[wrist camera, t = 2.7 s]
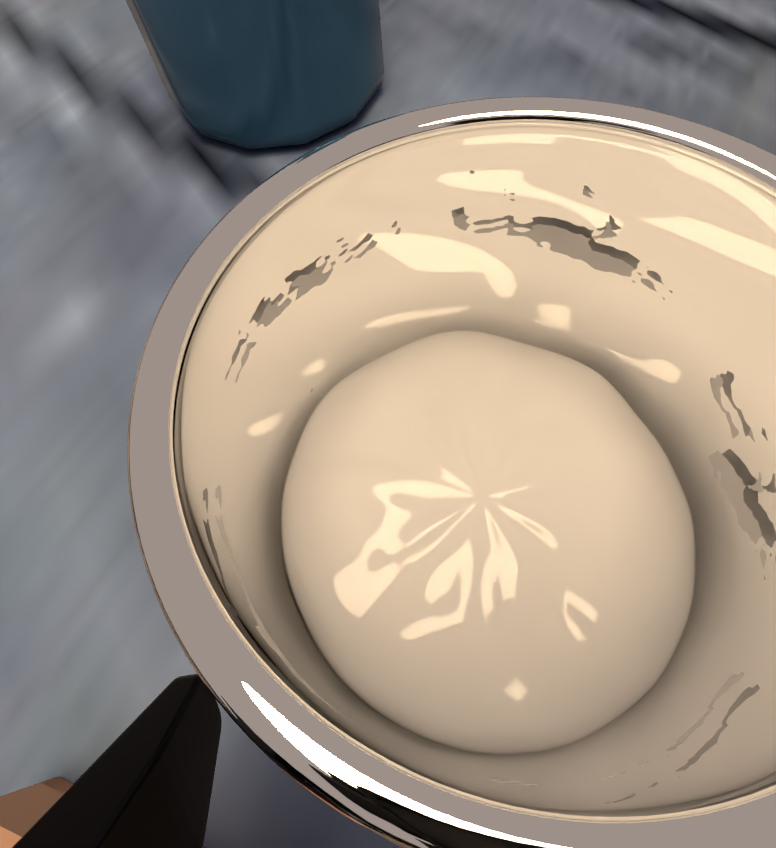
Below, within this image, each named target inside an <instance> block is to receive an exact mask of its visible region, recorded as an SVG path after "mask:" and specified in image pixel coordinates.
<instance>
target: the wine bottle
mask: <svg viewBox="0 0 776 848" xmlns="http://www.w3.org/2000/svg"><path fill="white" fill-rule="evenodd" d="M126 2H127V4H128V6H129V9H130V11H131V13H132V15H133V17H134V20H135V22H136V24H137V26H138V28H139V30H140V33H141V35H142V37H143V39H144V41H145V44H146V46H147V48H148V50H149V52H150V55H151V57H152V59H153V61H154V63H155V66H156V68H157V70H158V72H159V74H160V76H161V79H162V81H163V83H164V85H165V87H166V90H167V92H168V94H169V96H170V97H171V99H172V100H173V101H174V102H175V104H176V105H177V106H178V107H179V109H180V110H181V111H182V112H183V114H184V115H185V116H186V117H187V119H188V120H189V121H190V122H191V124H192V125H193V126H194V127H195V128H196V129H197V130H198V131H199V132H200V133H201V134H202V135H203V136H205V137H208V138H212V139H215V140H219V141H222V142H225V143H229V144H232V145H236V146H239V147H243V148H246V149H259V148H268V147H278V146H287V145H296V144H306V143H308V142H310V141H312V140H314V139H316V138H318V137H320V136H322V135H324V134H326V133H328V132H330V131H332V130H335V129H337V128H339V127H341V126H343V125H345V124H347V123H349V122H351V121H353V120H354V119H355V118H356V116H357V115H358V114H359V113H360V111H361V110H362V109H363V107H364V106H365V105H366V104H367V102H368V101H369V100H370V98H371V97H372V96H373V95H374V93H375V92H376V91H377V89H378V88H379V85H380V82H381V79H382V76H383V73H384V69H383V55H382V40H381V26H380V11H379V0H126Z"/></svg>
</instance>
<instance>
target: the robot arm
mask: <svg viewBox="0 0 776 848" xmlns="http://www.w3.org/2000/svg"><path fill="white" fill-rule="evenodd" d="M220 733H221V714H220V710H219V707H218V704H217V701H216V699H215V697H214V696H213V695H212V693H211V692H210V690H209V689H208V688H207V686H206V685H205V684H204V682H203V681H202V680H201V678H200V677H199V675H198V674H194V675H187V676H181V677H178V678H176V679H175V680H174V681H172V682H171V683H170V684H169V685H168V686H167V687H166V689H165V690H164V691H163V692H162V693H161V694H160V695H159V696H158V697H157V698H156V699H155V700H154V701H153V702H152V703H151V704H150V705H149V706H148V707H147V708H146V709H145V710H144V711H143V712H142V713H141V714H140V715H139V716H138V717H137V719H136V720H135V721H134V722H133V723H132V724H131V725H130V726H129V727H128V728H127V729H126V730H125V731H124V732H123V733H122V734H121V735H120V736H119V737H118V738H117V739H116V740H115V741H114V742H113V743H112V744H111V745H110V746H109V748H108V749H107V750H106V751H105V752H104V753H103V754H102V755H101V756H100V757H99V758H98V759H97V760H96V761H95V762H94V763H93V764H92V765H91V766H90V767H89V768H88V769H87V770H86V771H85V772H84V773H83V774H82V775H81V777H80V778H79V779H78V780H77V781H76V782H75V783H74V784H73V785H72V786H71V787H70V788H69V789H68V790H67V791H66V792H65V793H64V794H63V795H62V796H61V797H60V798H59V799H58V800H57V801H56V802H55V803H54V804H53V806H52V807H51V808H50V809H49V810H48V811H47V812H46V813H45V814H44V815H43V816H42V817H41V818H40V819H39V820H38V821H37V822H36V823H35V824H34V825H33V826H32V827H31V828H30V829H29V830H28V831H27V832H26V833H25V835H24V836H23V837H22V838H21V839H20V840H19V841H18V842H17V843H16V844H15V845H14V846H13V847H12V848H202V847H203V842H204V836H205V830H206V824H207V818H208V811H209V805H210V798H211V792H212V785H213V778H214V772H215V765H216V759H217V752H218V746H219V739H220Z"/></svg>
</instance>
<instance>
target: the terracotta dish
mask: <svg viewBox="0 0 776 848" xmlns="http://www.w3.org/2000/svg"><path fill="white" fill-rule="evenodd" d="M72 785H73V783H70V782H68V781H66V780H64V779H62V778H60V777H56V778H53V779H50V780H47V781H44V782H41V783H38V784H35V785H32V786H29V787H26V788H24V789H21V790H18V791H15V792H12V793H9V794H6V795H3V796H0V848H12V847H13V846H14V845H15V844H16V843H17V842H18V841H19V840H20V839H21V838H22V837H23V836H24V835H25V833H26V832H27V831H28V830H29V829H30V828H31V827H32V826H33V825H34V824H35V823H36V822H37V821H38V820H39V819H40V818H41V817H42V816H43V815H44V814H45V813H46V812H47V811H48V810H49V809H50V808H51V807H52V806H53V804H54V803H55V802H56V801H57V800H58V799H59V798H60V797H61V796H62V795H63V794H64V793H65V792H66V791H67V790H68V789H69V788H70V787H71V786H72ZM202 848H204V847H202Z"/></svg>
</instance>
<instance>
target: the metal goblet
mask: <svg viewBox="0 0 776 848" xmlns="http://www.w3.org/2000/svg"><path fill="white" fill-rule="evenodd" d="M127 471H128V483H129V494H130V502H131V510H132V515H133V520H134V526H135V531H136V535H137V539H138V543H139V547H140V551H141V554H142V558H143V561H144V564H145V567H146V570H147V573H148V576H149V579H150V581H151V584H152V587H153V590H154V592H155V595H156V597H157V600H158V602H159V604H160V607H161V609H162V611H163V614H164V616H165V618H166V620H167V622H168V624H169V626H170V628H171V629H172V631H173V633H174V635H175V637H176V639H177V641H178V642H179V644H180V646H181V648H182V649H183V651H184V653H185V655H186V656H187V658H188V660H189V661H190V663H191V664H192V666H193V667H194V669H195V670H196V672H197V674H198V675H199V677H200V678H201V680H202V681H203V682H204V684H205V685H206V686H207V688H208V689H209V690H210V692H211V693H212V695H213V696H214V697H215V699H216V700H217V701H218V702H219V704H220V705H221V706H222V707H223V708H224V710H225V711H226V712H227V713H228V714H229V716H230V717H231V718H232V719H233V720H234V721H235V723H236V724H237V725H238V726H239V727H240V728H241V729H242V730H243V731H244V732H245V733H246V735H247V736H248V737H249V738H250V739H251V740H252V741H253V742H254V743H255V744H256V745H257V746H258V747H259V748H260V749H261V750H262V751H263V752H264V753H265V754H266V755H267V756H268V757H269V758H270V759H272V760H273V761H274V762H275V763H276V764H277V765H278V766H279V767H281V768H282V769H283V770H284V771H285V772H286V773H287V774H289V775H290V776H291V777H292V778H293V779H295V780H296V781H297V782H298V783H300V784H301V785H302V786H304V787H305V788H306V789H308V790H309V791H310V792H312V793H313V794H314V795H315V796H317V797H318V798H320V799H321V800H323V801H324V802H325V803H327V804H328V805H330V806H331V807H332V808H334V809H335V810H337V811H338V812H339V813H341V814H343V815H344V816H346V817H348V818H349V819H351V820H353V821H354V822H356V823H358V824H359V825H361V826H363V827H364V828H366V829H368V830H370V831H372V832H373V833H375V834H377V835H379V836H381V837H383V838H384V839H386V840H388V841H390V842H392V843H394V844H396V845H398V846H400V847H402V848H776V155H774V154H772V153H770V152H768V151H765V150H763V149H761V148H759V147H757V146H755V145H753V144H750V143H748V142H746V141H743V140H741V139H739V138H736V137H734V136H731V135H729V134H726V133H724V132H721V131H718V130H715V129H713V128H710V127H707V126H704V125H701V124H698V123H695V122H692V121H689V120H685V119H682V118H679V117H675V116H671V115H668V114H664V113H660V112H656V111H651V110H647V109H642V108H637V107H632V106H627V105H622V104H616V103H610V102H602V101H595V100H586V99H575V98H560V97H502V98H488V99H478V100H470V101H462V102H455V103H449V104H443V105H438V106H433V107H428V108H424V109H419V110H415V111H411V112H408V113H404V114H400V115H397V116H393V117H390V118H387V119H384V120H381V121H378V122H375V123H372V124H369V125H366V126H364V127H361V128H358V129H356V130H354V131H351V132H349V133H347V134H344V135H342V136H340V137H338V138H335V139H333V140H331V141H329V142H327V143H325V144H323V145H321V146H319V147H317V148H315V149H314V150H312V151H310V152H308V153H306V154H305V155H303V156H301V157H299V158H298V159H296V160H294V161H293V162H291V163H290V164H288V165H287V166H285V167H283V168H282V169H280V170H279V171H278V172H276V173H275V174H273V175H272V176H271V177H269V178H268V179H267V180H265V181H264V182H263V183H261V184H260V185H259V186H257V187H256V188H255V189H254V190H252V191H251V192H250V193H249V194H247V195H246V196H245V197H244V198H243V199H242V200H241V201H240V202H238V203H237V204H236V205H235V206H234V207H233V208H232V209H231V210H230V211H229V212H228V213H227V214H226V215H225V216H224V217H223V218H222V219H221V220H220V221H219V222H218V223H217V224H216V225H215V227H214V228H213V229H212V230H211V231H210V232H209V233H208V235H207V236H206V237H205V238H204V239H203V241H202V242H201V243H200V244H199V246H198V247H197V248H196V249H195V251H194V252H193V253H192V255H191V256H190V258H189V259H188V260H187V262H186V263H185V265H184V266H183V268H182V269H181V271H180V272H179V274H178V276H177V277H176V279H175V281H174V282H173V284H172V286H171V287H170V289H169V291H168V293H167V295H166V297H165V299H164V300H163V303H162V305H161V307H160V309H159V311H158V313H157V315H156V318H155V320H154V322H153V325H152V327H151V329H150V332H149V335H148V337H147V340H146V343H145V346H144V349H143V352H142V356H141V359H140V362H139V367H138V371H137V375H136V379H135V383H134V389H133V394H132V400H131V407H130V415H129V425H128V439H127Z"/></svg>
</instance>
